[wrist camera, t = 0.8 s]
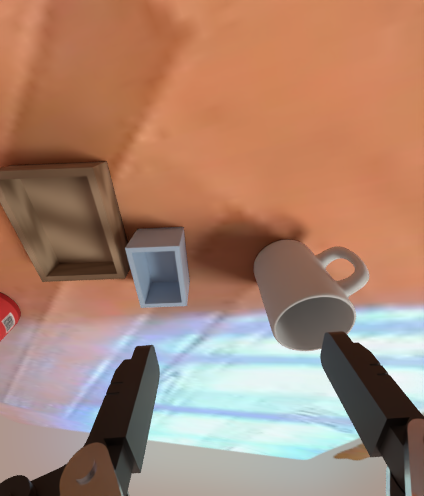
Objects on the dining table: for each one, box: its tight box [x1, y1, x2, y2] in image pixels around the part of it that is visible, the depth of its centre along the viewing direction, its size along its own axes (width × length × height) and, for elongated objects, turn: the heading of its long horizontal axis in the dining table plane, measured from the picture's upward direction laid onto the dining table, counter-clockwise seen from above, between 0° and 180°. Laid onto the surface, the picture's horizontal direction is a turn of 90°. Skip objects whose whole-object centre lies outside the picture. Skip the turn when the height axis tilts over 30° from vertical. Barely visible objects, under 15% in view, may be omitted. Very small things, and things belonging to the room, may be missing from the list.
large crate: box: [0, 161, 130, 282], centre depth 26 cm, size 14×11×4 cm
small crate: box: [125, 227, 190, 308], centre depth 29 cm, size 9×6×5 cm, turn 2°
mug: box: [254, 240, 369, 351], centre depth 27 cm, size 12×8×11 cm
